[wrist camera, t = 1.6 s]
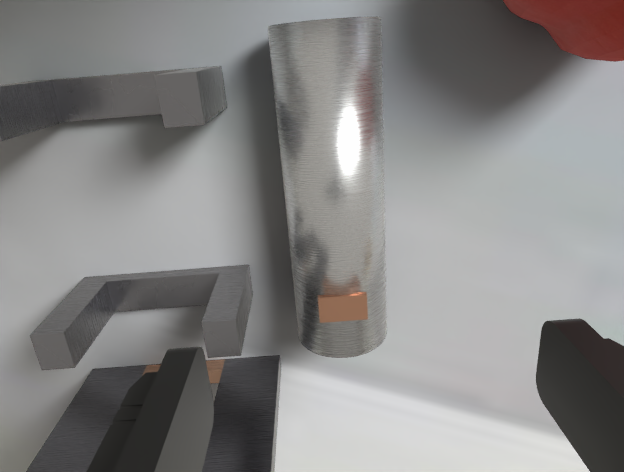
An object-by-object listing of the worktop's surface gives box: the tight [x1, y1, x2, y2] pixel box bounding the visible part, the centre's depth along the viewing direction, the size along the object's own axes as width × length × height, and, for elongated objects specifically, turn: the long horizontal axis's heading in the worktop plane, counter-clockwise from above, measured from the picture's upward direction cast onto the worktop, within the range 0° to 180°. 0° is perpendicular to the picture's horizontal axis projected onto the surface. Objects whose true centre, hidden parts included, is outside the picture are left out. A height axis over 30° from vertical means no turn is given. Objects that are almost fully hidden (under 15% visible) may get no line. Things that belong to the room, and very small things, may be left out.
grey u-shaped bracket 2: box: [30, 265, 253, 370], centre depth 25 cm, size 2×10×6 cm, turn 94°
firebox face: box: [26, 355, 281, 472], centre depth 25 cm, size 1×12×12 cm, turn 95°
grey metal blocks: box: [0, 66, 227, 141], centre depth 21 cm, size 2×10×6 cm, turn 95°
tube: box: [268, 17, 387, 358], centre depth 24 cm, size 16×5×5 cm, turn 4°
